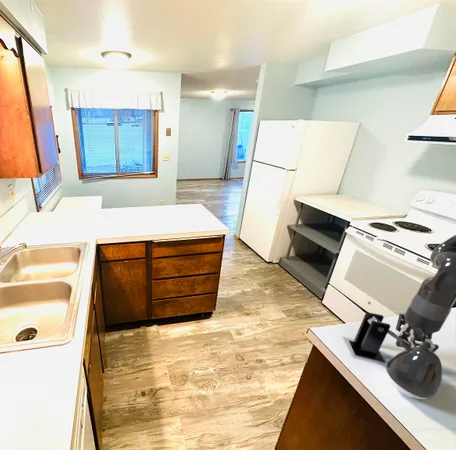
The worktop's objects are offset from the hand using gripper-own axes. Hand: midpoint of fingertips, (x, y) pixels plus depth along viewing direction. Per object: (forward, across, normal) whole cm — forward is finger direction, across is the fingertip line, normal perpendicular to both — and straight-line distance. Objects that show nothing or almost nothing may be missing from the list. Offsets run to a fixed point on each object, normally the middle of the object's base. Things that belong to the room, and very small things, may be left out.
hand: (404, 352), depth 77 cm
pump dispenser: (+3, -11, +5) cm, 12 cm away
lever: (-5, 0, +6) cm, 8 cm away
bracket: (+3, 0, +10) cm, 11 cm away
